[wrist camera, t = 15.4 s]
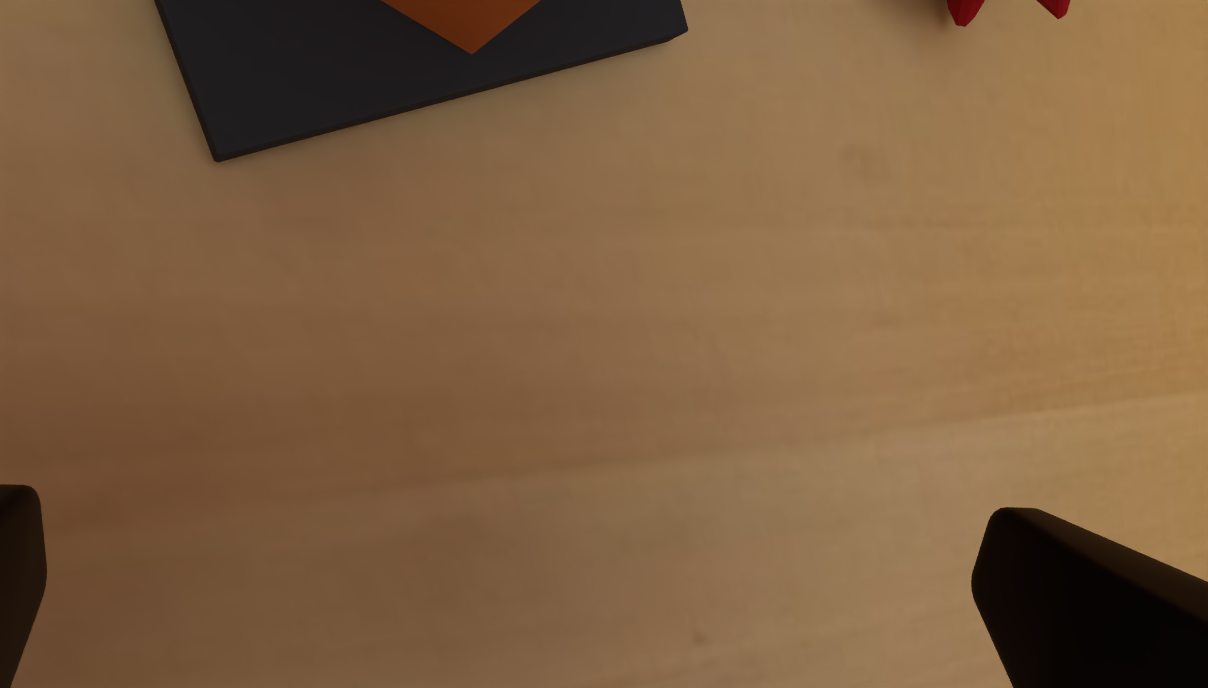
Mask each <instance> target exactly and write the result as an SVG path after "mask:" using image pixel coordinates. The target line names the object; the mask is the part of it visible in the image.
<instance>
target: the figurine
mask: <svg viewBox="0 0 1208 688" xmlns="http://www.w3.org/2000/svg"><path fill="white" fill-rule="evenodd" d="M984 1H985V0H947V4H948V9H949V11H950V13H951V15H952V17H953V19H954V22H955V24H956V25H958V26H964V27H965V26H966V25H967V24H968V23H969V22H970V21H971V20H972V19H973V18H974V17H975V16H976V14H977V12H978V11H979V9H980V8H981V6H982V4H983V3H984ZM1037 1H1038V2H1039V3H1040V4H1041V5H1042V6H1044V7H1045V8H1046V9H1047V10H1048V11H1049V12H1050V13H1051V14H1053V15H1054V16H1055V17H1056V18H1057V19H1060V18H1061V17H1063V16H1065V15H1066V13H1067V10H1068V7H1069V3H1070V0H1037Z"/></svg>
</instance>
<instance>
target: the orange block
mask: <svg viewBox="0 0 1208 688" xmlns="http://www.w3.org/2000/svg"><path fill="white" fill-rule="evenodd" d="M381 1H383V2H384V3H386V4H388V5H389V6H391V7H393V8H394V9H396V10H398V11H399V12H401V13H403V14H404V15H406V16H408V17H409V18H411V19H413V20H414V21H416V22H418V23H419V24H421V25H423V26H424V27H426V28H428V29H429V30H431V31H433V32H435V33H436V34H438V35H440V36H441V37H443V38H445V39H446V40H448V41H450V42H451V43H453V44H455V45H456V46H458V47H460V48H461V49H463V50H465V51H466V52H468V53H470V54H473V53H474V52H476V51H477V50H478V49H479V48H481V47H482V46H483V45H485V44H486V43H487V42H488V41H490V40H491V39H492V38H493V37H495V36H496V35H497V34H498V33H500V32H501V31H502V30H503V29H505V28H506V27H507V26H509V25H510V24H511V23H512V22H514V21H515V20H516V19H517V18H519V17H520V16H521V15H522V14H524V13H525V12H526V11H528V10H529V9H530V8H531V7H533V6H534V5H535V4H536V3H538V2H539V1H540V0H381Z"/></svg>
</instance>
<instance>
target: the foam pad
mask: <svg viewBox="0 0 1208 688" xmlns="http://www.w3.org/2000/svg"><path fill="white" fill-rule="evenodd" d="M154 1H155V4H156V7H157V9H158V12H159V15H160V17H161V20H162V23H163V25H164V28H165V31H166V33H167V36H168V39H169V41H170V44H171V47H172V49H173V52H174V55H175V57H176V60H177V63H178V65H179V68H180V71H181V73H182V76H183V79H184V82H185V84H186V87H187V90H188V92H189V95H190V98H191V100H192V103H193V106H194V108H195V111H196V114H197V116H198V119H199V122H200V124H201V127H202V130H203V132H204V135H205V138H206V140H207V143H208V146H209V148H210V151H211V154H212V156H213V159H214V161H215V162H221V161H224V160H228V159H232V158H236V157H239V156H243V155H247V154H251V153H254V152H258V151H262V150H265V149H269V148H273V147H277V146H280V145H284V144H288V143H292V142H295V141H299V140H303V139H306V138H310V137H314V136H318V135H321V134H325V133H329V132H332V131H336V130H340V129H344V128H347V127H351V126H355V125H359V124H362V123H366V122H370V121H373V120H377V119H381V118H385V117H388V116H392V115H396V114H400V113H403V112H407V111H411V110H414V109H418V108H422V107H426V106H429V105H433V104H437V103H441V102H444V101H448V100H452V99H455V98H459V97H463V96H467V95H470V94H474V93H478V92H482V91H485V90H489V89H493V88H496V87H500V86H504V85H508V84H511V83H515V82H519V81H522V80H526V79H530V78H534V77H537V76H541V75H545V74H549V73H552V72H556V71H560V70H563V69H567V68H571V67H575V66H578V65H582V64H586V63H590V62H593V61H597V60H601V59H604V58H608V57H612V56H616V55H619V54H623V53H627V52H631V51H634V50H638V49H642V48H645V47H649V46H653V45H657V44H660V43H664V42H667V41H669V40H671V39H673V38H675V37H677V36H679V35H681V34H683V33H685V32H687V31H688V26H687V23H686V19H685V16H684V12H683V8H682V5H681V1H680V0H540V1H539V2H538V3H536V4H535V5H534V6H533V7H531V8H530V9H529V10H528V11H526V12H525V13H524V14H522V15H521V16H520V17H519V18H517V19H516V20H515V21H514V22H512V23H511V24H510V25H509V26H507V27H506V28H505V29H503V30H502V31H501V32H500V33H498V34H497V35H496V36H495V37H493V38H492V39H491V40H490V41H488V42H487V43H486V44H485V45H483V46H482V47H481V48H479V49H478V50H477V51H476V52H474V53H473V54H470V53H468V52H466V51H465V50H463V49H461V48H460V47H458V46H456V45H455V44H453V43H451V42H450V41H448V40H446V39H445V38H443V37H441V36H440V35H438V34H436V33H435V32H433V31H431V30H429V29H428V28H426V27H424V26H423V25H421V24H419V23H418V22H416V21H414V20H413V19H411V18H409V17H408V16H406V15H404V14H403V13H401V12H399V11H398V10H396V9H394V8H393V7H391V6H389V5H388V4H386V3H384V2H383V1H381V0H154Z"/></svg>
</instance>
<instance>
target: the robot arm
mask: <svg viewBox="0 0 1208 688" xmlns="http://www.w3.org/2000/svg"><path fill="white" fill-rule="evenodd" d="M46 579H47V563H46V553H45V543H44V533H43V523H42V514H41V504H40V499H39V497H38V494H37V492H36V491H35V490H34V489H33V488H32V487H31V486H26V485H6V484H0V688H10V687H11V684H12V681H13V679H14V676H15V673H16V670H17V668H18V665H19V662H20V659H21V657H22V654H23V651H24V648H25V645H26V643H27V640H28V637H29V634H30V632H31V629H32V626H33V623H34V621H35V618H36V615H37V612H38V609H39V607H40V604H41V601H42V598H43V595H44V591H45V587H46ZM971 587H972V594H973V598H974V601H975V603H976V605H977V608H978V610H979V612H980V614H981V617H982V619H983V621H984V623H985V625H986V628H987V630H988V632H989V634H990V637H991V639H992V641H993V643H994V646H995V648H996V650H997V652H998V654H999V657H1000V659H1001V661H1002V663H1003V666H1004V668H1005V670H1006V672H1007V675H1008V677H1009V679H1010V681H1011V683H1012V686H1013V688H1208V582H1207V581H1204V580H1202V579H1200V578H1197V577H1195V576H1193V575H1190V574H1188V573H1186V572H1183V571H1181V570H1179V569H1177V568H1174V567H1172V566H1170V565H1167V564H1165V563H1163V562H1160V561H1158V560H1156V559H1153V558H1151V557H1149V556H1146V555H1144V554H1142V553H1139V552H1137V551H1135V550H1132V549H1130V548H1128V547H1125V546H1123V545H1121V544H1118V543H1116V542H1114V541H1112V540H1109V539H1107V538H1105V537H1102V536H1100V535H1098V534H1095V533H1093V532H1091V531H1088V530H1086V529H1084V528H1081V527H1079V526H1077V525H1074V524H1072V523H1070V522H1067V521H1065V520H1063V519H1060V518H1058V517H1056V516H1054V515H1051V514H1049V513H1047V512H1044V511H1042V510H1039V509H1035V508H1014V507H1005V508H1000V509H998V510H997V511H995V512H994V513H993V514H992V516H991V517H990V519H989V521H988V524H987V527H986V531H985V534H984V537H983V540H982V544H981V547H980V550H979V553H978V556H977V560H976V563H975V566H974V569H973V573H972V580H971Z"/></svg>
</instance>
